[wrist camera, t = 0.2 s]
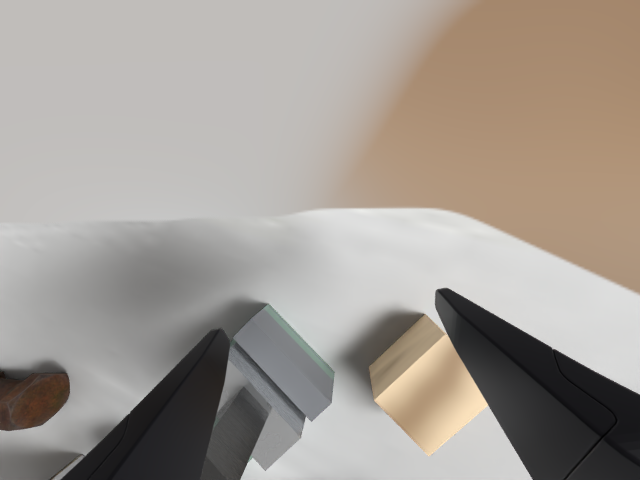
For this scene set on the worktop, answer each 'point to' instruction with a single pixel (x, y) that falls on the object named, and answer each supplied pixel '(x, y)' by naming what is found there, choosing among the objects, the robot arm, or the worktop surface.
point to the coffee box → (67, 468)
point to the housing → (425, 386)
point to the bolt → (31, 399)
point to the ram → (250, 420)
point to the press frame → (287, 361)
